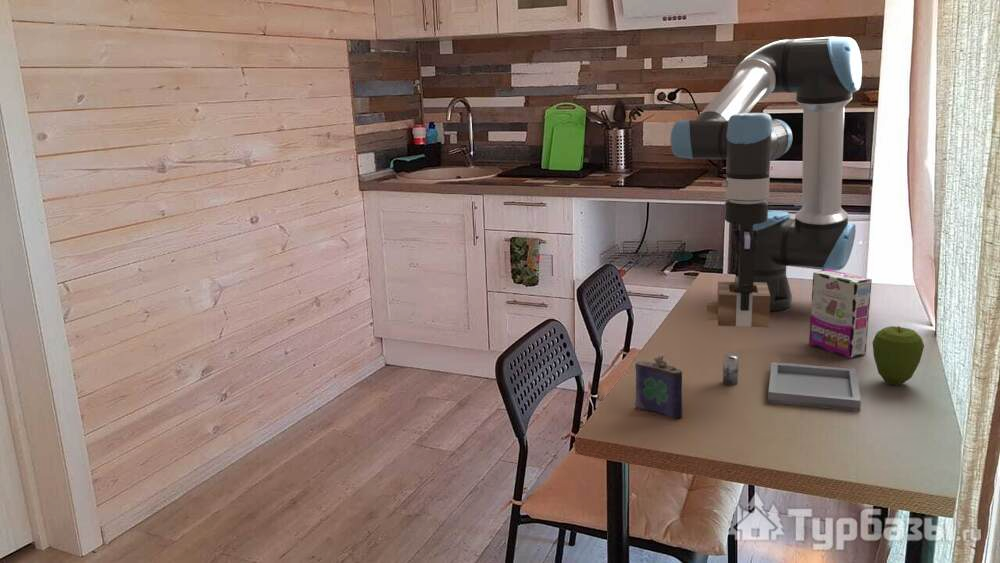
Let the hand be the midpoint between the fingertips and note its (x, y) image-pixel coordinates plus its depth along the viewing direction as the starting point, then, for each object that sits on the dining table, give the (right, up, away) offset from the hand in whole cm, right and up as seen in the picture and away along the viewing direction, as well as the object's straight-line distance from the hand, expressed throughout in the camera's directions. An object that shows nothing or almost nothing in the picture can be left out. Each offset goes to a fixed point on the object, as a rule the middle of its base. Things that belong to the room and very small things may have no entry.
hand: (742, 317), depth 151 cm
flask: (-17, -17, -7) cm, 25 cm away
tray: (+13, -14, -1) cm, 19 cm away
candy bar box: (+26, -8, +19) cm, 33 cm away
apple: (+29, -13, 0) cm, 32 cm away
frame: (0, 0, 0) cm, 0 cm away
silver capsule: (-1, -13, +4) cm, 13 cm away
